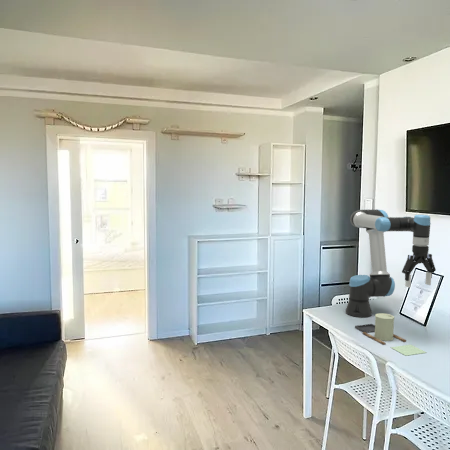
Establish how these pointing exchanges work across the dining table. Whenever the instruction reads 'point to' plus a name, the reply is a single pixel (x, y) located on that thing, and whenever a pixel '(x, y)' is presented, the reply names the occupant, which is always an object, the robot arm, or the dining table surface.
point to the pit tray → (366, 328)
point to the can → (384, 327)
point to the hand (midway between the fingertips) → (418, 285)
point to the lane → (382, 341)
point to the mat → (408, 350)
